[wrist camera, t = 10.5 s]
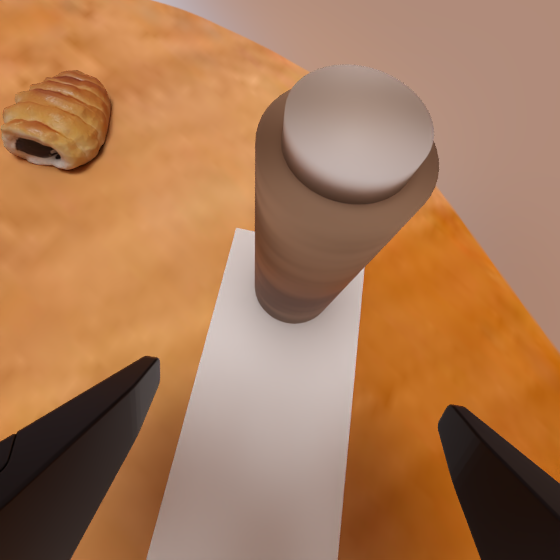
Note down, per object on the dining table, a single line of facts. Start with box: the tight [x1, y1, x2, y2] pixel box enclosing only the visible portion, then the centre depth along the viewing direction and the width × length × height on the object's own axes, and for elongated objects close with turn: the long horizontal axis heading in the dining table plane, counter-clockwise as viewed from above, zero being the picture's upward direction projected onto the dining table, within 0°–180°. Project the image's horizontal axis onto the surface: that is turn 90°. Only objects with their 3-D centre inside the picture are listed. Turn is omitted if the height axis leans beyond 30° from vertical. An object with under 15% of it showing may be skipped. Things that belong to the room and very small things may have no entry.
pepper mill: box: [255, 65, 439, 324], centre depth 14 cm, size 6×6×14 cm
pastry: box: [0, 70, 111, 170], centre depth 24 cm, size 9×7×4 cm
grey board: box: [146, 228, 364, 560], centre depth 19 cm, size 24×10×1 cm, turn 170°
